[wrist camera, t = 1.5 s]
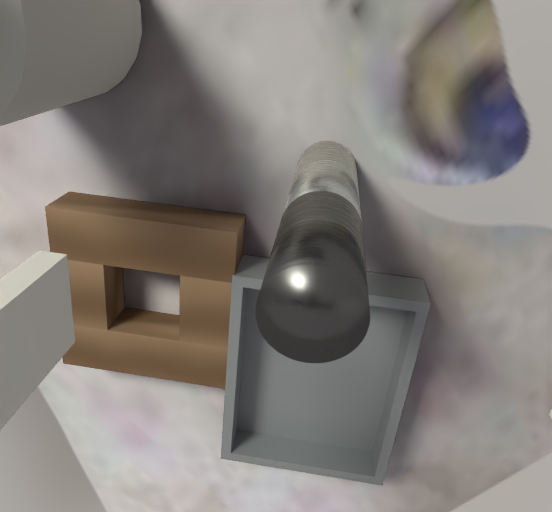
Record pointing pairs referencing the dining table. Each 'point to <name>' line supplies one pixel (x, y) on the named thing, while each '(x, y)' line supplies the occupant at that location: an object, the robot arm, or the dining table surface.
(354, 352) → the tray
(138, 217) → the plate
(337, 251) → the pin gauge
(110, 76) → the can
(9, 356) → the robot arm
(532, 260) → the dining table surface
